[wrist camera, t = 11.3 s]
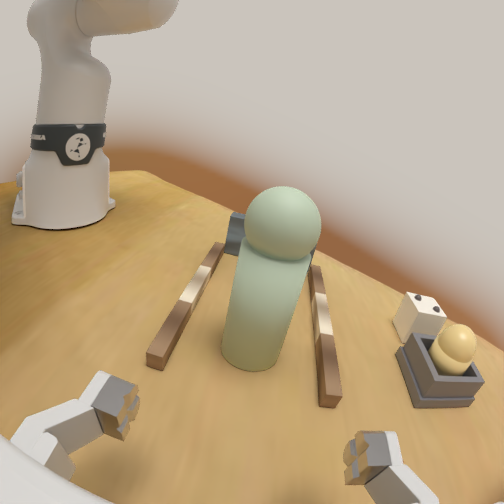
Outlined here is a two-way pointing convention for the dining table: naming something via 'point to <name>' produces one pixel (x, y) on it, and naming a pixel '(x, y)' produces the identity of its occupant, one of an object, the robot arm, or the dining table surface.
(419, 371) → the base
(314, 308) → the track
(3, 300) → the dining table surface
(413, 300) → the die
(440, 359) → the dome
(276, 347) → the pawn
